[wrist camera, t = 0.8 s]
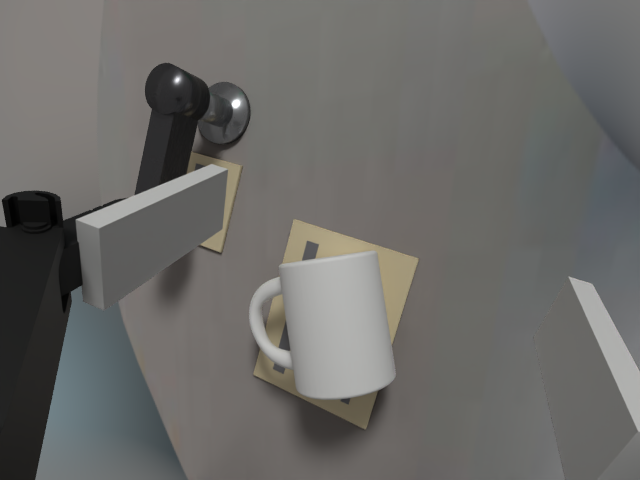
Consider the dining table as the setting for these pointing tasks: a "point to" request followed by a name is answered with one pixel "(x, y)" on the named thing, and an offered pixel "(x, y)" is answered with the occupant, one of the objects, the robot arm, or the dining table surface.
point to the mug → (330, 325)
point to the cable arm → (170, 124)
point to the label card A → (233, 179)
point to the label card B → (396, 287)
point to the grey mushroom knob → (225, 114)
